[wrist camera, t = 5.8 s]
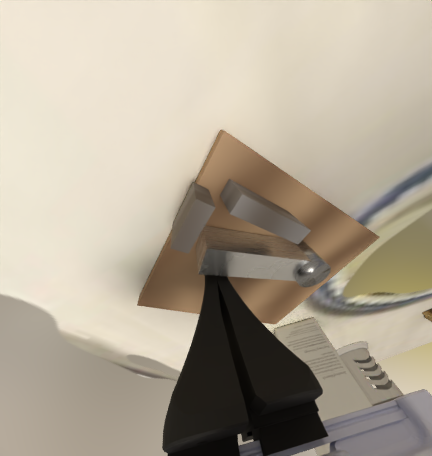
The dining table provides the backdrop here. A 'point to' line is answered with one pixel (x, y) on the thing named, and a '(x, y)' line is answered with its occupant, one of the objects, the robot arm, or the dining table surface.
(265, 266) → the swing bar
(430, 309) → the rock
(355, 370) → the french press
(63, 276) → the dining table surface
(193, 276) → the lock board
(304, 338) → the skincare box
